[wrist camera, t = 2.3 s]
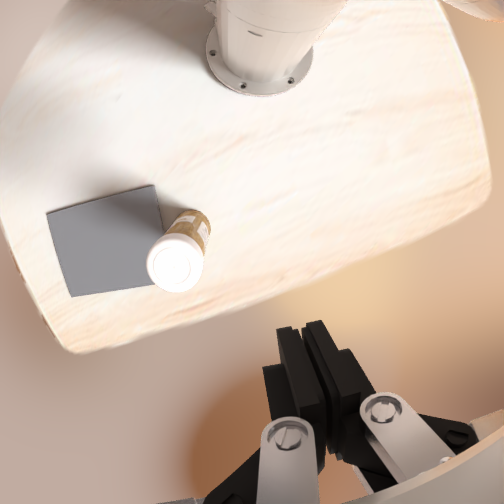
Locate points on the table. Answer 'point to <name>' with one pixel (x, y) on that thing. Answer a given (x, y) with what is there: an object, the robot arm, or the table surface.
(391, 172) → the table surface
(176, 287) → the sprinkles bottle
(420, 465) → the robot arm
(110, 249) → the mat
